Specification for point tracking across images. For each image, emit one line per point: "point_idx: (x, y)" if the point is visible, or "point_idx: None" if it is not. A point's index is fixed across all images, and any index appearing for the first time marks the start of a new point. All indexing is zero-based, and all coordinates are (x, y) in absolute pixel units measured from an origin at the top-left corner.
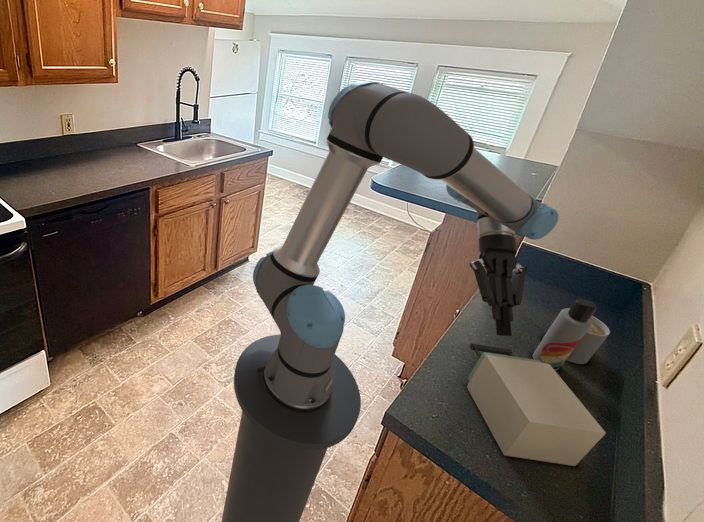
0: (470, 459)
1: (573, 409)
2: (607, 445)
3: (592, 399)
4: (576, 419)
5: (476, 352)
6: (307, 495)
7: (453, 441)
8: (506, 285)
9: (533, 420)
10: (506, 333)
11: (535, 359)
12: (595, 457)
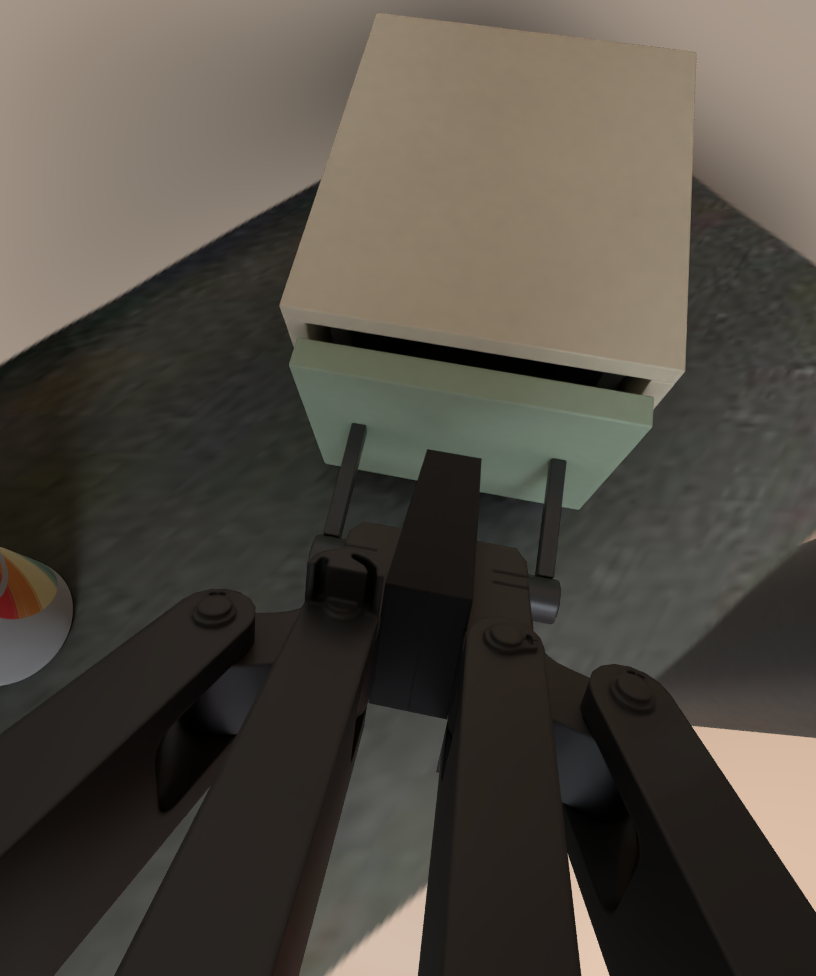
0: (738, 237)
1: (421, 88)
2: (190, 257)
3: (16, 414)
4: (457, 52)
5: (556, 551)
6: (806, 546)
7: (771, 286)
8: (293, 914)
9: (673, 56)
10: (465, 462)
11: (65, 628)
12: (283, 228)
